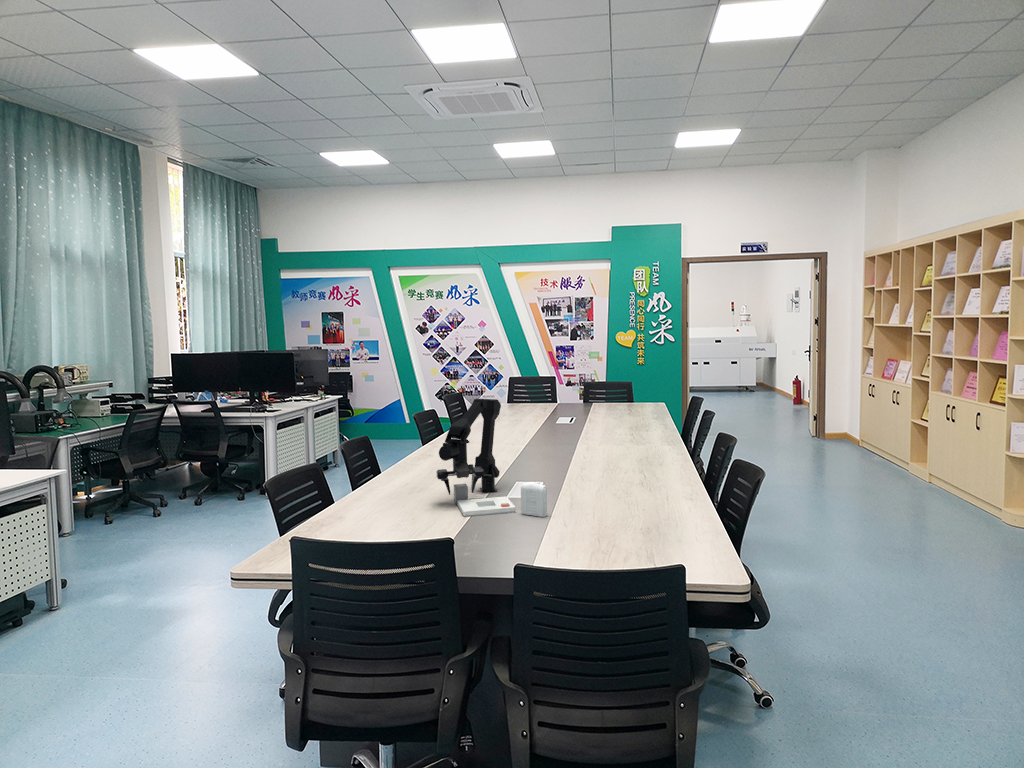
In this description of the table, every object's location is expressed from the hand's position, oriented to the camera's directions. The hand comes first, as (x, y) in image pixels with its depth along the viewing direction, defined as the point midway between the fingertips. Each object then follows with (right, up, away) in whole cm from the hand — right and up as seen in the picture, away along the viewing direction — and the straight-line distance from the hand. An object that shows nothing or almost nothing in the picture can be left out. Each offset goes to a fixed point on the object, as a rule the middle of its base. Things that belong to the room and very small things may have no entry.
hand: (461, 493), depth 270 cm
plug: (0, -4, 0) cm, 4 cm away
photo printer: (+29, -5, -19) cm, 35 cm away
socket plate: (+10, -4, -10) cm, 15 cm away
